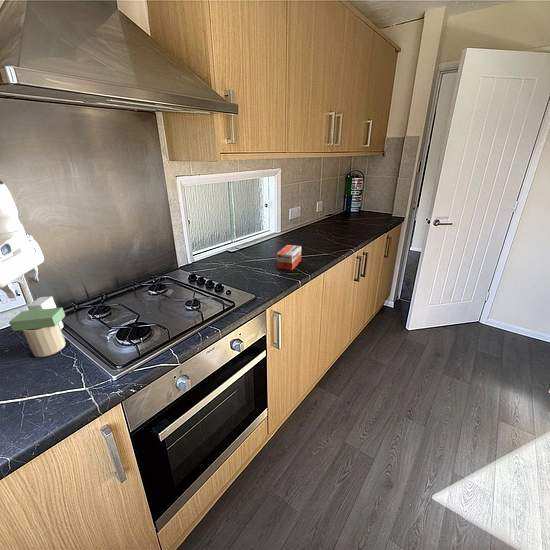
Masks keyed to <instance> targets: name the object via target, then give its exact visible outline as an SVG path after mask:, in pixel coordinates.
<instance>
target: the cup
mask: <svg viewBox="0 0 550 550" xmlns="http://www.w3.org/2000/svg"><path fill="white" fill-rule="evenodd" d="M21 331H22V333H23V335H24V337H25V340H26V342H27V345H28V346H29V349H30V352H31V353H32V355H33V356H34V357H36V358H44V357H48V356H52V355H54V354H57V353H58V352H60V351H62V350H63V349H64V348H65V347H66V346H67V345H66V344H67V343H66V342H67V341H66V339H65V337H64V333H63V331H62V329H61V328H60V325H59V323H58V324H57V325H56V326H55V327H45V328H36V329H27V330H21Z"/></svg>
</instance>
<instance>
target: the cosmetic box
mask: <svg viewBox="0 0 550 550" xmlns="http://www.w3.org/2000/svg"><path fill="white" fill-rule="evenodd" d="M51 308H57V305H56V303H55V299H54V297H53V296H39V297H37V298H36V299H35V300H34V301H32V302H31V303H30V304H28V305H27V309H28V311H31V310H41V309H51ZM59 325H60V328H61V330H63V328H64V327H65V326H64V322H63V320H61V321H60V322H59Z"/></svg>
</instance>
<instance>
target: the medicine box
mask: <svg viewBox="0 0 550 550" xmlns="http://www.w3.org/2000/svg"><path fill="white" fill-rule="evenodd" d="M300 262H302V246H301V245H293V244H286V245H285V246H284V247H283V248H281V249H280V250H279V251H278V252H277V253H276V269H279V270H286V271H293V270H294V269H295V268H296V267H297V266H298V265H299V264H300Z"/></svg>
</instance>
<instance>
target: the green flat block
mask: <svg viewBox="0 0 550 550" xmlns="http://www.w3.org/2000/svg"><path fill="white" fill-rule="evenodd" d="M65 317H66V314H65V311H64V308H63V307H62V306H61V307H56V308H51V309H41V310H31V311H29V310H22V311H21V312H19V313H18V314H17V315H15V316H14V317H13V318H12V319H10V320H9V321H8V323H9V326H10V328H11V330H12V332H15V331H22V330H27V329H36V328H45V327H55V326H56V325H57V324H58V323H59V322H60V321H63V319H64V318H65Z"/></svg>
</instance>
